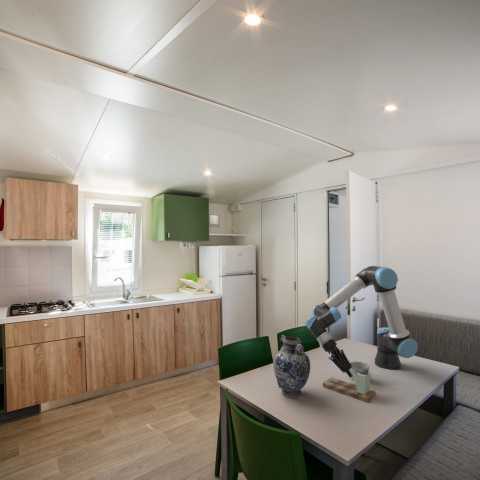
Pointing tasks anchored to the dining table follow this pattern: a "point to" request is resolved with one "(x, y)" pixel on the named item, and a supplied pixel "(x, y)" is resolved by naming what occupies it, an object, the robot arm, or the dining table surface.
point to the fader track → (348, 389)
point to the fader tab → (363, 381)
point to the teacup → (358, 366)
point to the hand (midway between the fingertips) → (356, 382)
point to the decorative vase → (291, 367)
